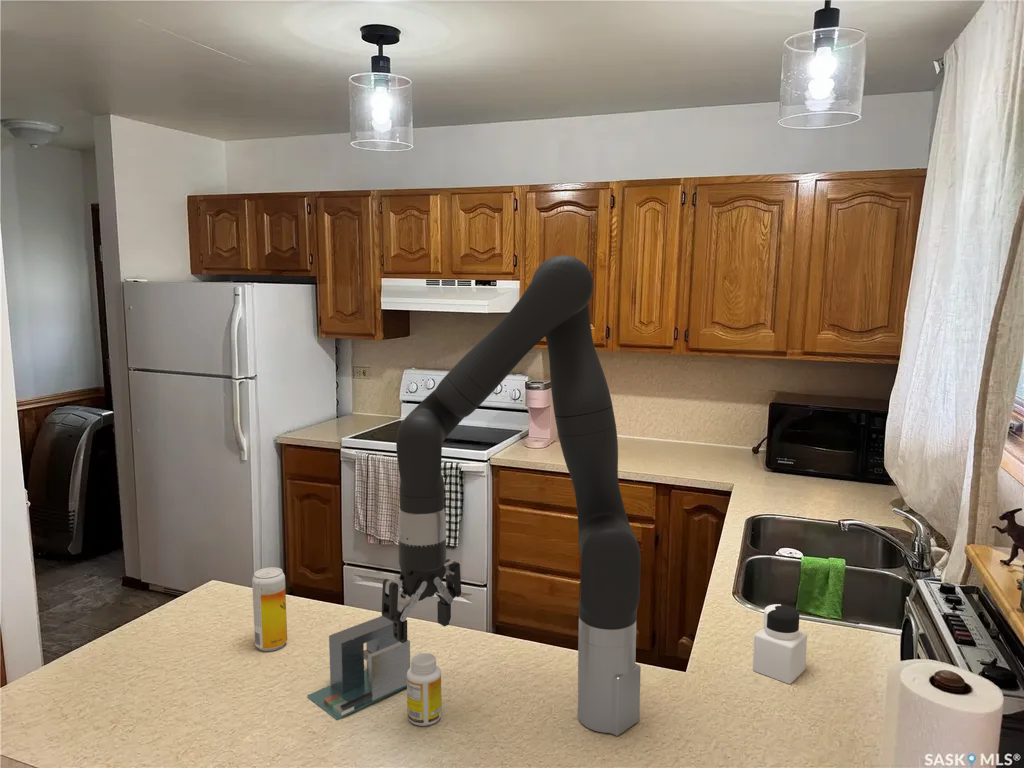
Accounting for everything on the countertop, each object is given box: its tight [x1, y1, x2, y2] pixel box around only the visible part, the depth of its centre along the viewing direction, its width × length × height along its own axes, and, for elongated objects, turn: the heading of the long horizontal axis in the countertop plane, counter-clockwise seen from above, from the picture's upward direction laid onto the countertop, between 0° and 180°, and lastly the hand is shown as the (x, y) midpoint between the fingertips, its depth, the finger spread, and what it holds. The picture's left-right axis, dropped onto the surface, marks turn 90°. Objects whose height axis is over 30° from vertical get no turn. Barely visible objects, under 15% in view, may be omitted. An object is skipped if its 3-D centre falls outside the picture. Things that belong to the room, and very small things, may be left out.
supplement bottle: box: [406, 652, 443, 727], centre depth 117 cm, size 6×6×10 cm
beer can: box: [251, 566, 288, 652], centre depth 142 cm, size 6×6×15 cm
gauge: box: [306, 615, 407, 721], centre depth 126 cm, size 10×18×10 cm, turn 135°
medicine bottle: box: [752, 603, 808, 685], centre depth 132 cm, size 7×7×12 cm
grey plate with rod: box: [340, 639, 411, 710], centre depth 125 cm, size 8×14×8 cm, turn 135°
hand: (423, 632), depth 116 cm, fingers open, 8 cm apart
